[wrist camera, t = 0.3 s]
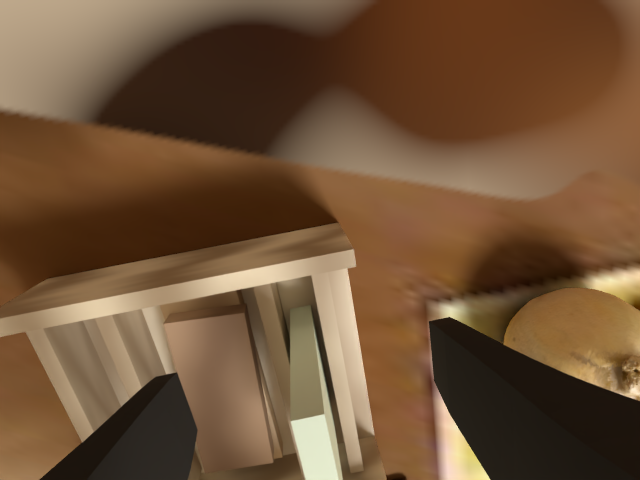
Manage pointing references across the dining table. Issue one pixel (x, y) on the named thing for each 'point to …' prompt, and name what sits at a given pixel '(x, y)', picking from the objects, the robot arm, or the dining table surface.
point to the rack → (153, 348)
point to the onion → (582, 337)
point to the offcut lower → (237, 299)
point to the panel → (311, 401)
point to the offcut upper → (222, 386)
